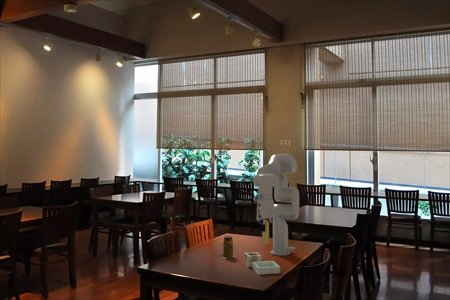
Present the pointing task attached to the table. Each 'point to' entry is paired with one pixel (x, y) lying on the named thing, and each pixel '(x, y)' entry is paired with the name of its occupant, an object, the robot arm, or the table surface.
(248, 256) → the socket block
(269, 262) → the tray
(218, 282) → the table surface
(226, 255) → the condiment
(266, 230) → the dowel
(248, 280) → the table surface
